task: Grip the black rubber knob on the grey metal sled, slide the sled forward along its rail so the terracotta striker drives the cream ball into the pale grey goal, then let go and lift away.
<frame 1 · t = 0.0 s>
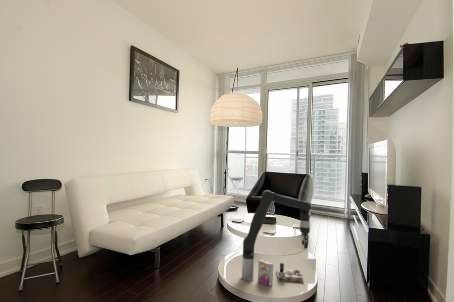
hand: (304, 246, 191), 29 cm above the table, fingers open, 8 cm apart
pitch: (289, 277, 199), on the table
candy bar box: (265, 283, 187), on the table
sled: (281, 268, 199), point 7 cm above the table, slide at 0.0 cm
ball: (290, 272, 201), point 3 cm above the table, touching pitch
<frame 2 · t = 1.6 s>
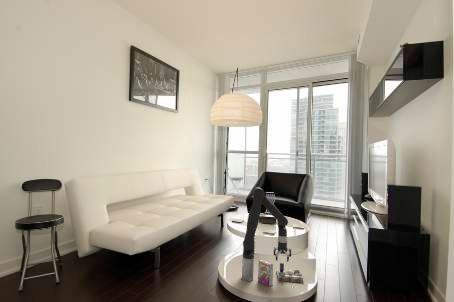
hand: (282, 261, 195), 15 cm above the table, fingers open, 8 cm apart
nothing on the table moved.
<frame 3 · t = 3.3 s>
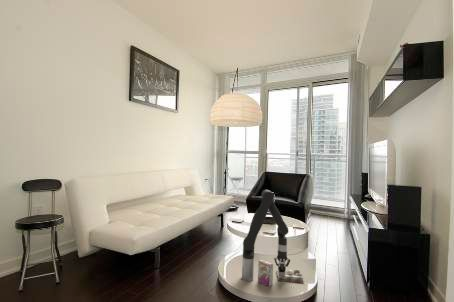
hand: (281, 270, 195), 7 cm above the table, fingers closed on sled, 3 cm apart
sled: (281, 268, 199), point 7 cm above the table, slide at 0.0 cm, touching gripper
everything else where it was.
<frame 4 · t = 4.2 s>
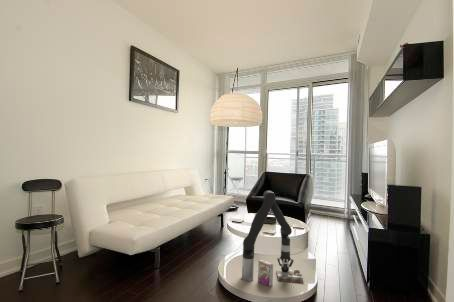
hand: (285, 271, 195), 7 cm above the table, fingers closed on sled, 3 cm apart
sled: (284, 268, 198), point 7 cm above the table, slide at 2.6 cm, touching gripper
everything else where it was.
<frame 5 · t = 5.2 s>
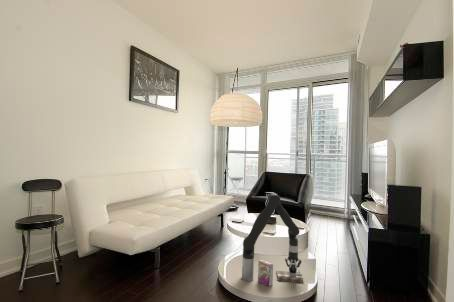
hand: (292, 271, 194), 7 cm above the table, fingers closed on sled, 3 cm apart
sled: (291, 269, 198), point 7 cm above the table, slide at 8.9 cm, touching gripper
ball: (296, 272, 200), point 3 cm above the table, tilted 147°, touching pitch
everything else where it was.
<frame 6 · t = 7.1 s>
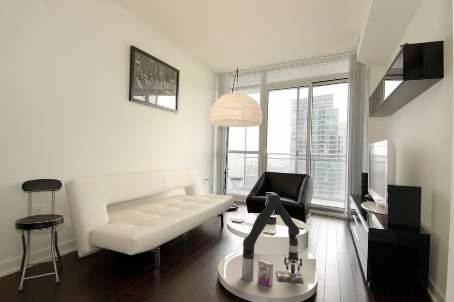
hand: (292, 270, 194), 8 cm above the table, fingers open, 8 cm apart
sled: (292, 269, 198), point 7 cm above the table, slide at 8.9 cm
ball: (297, 272, 200), point 3 cm above the table, tilted 153°, touching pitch
everything else where it was.
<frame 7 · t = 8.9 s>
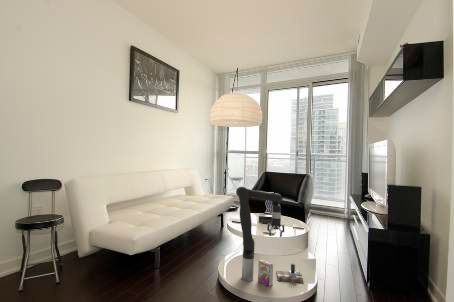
hand: (275, 236, 201), 33 cm above the table, fingers open, 8 cm apart
nothing on the table moved.
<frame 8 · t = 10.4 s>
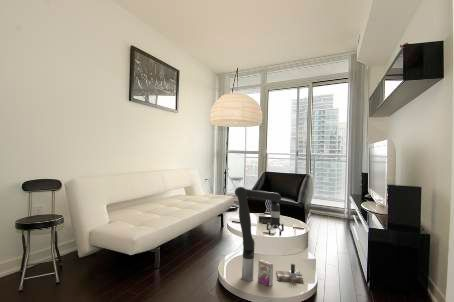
hand: (274, 235, 201), 34 cm above the table, fingers open, 8 cm apart
nothing on the table moved.
at the end: ball 0.2 cm from the target spot, point 3.5 cm above the table; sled slide at 8.9 cm; the gripper is holding nothing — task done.
